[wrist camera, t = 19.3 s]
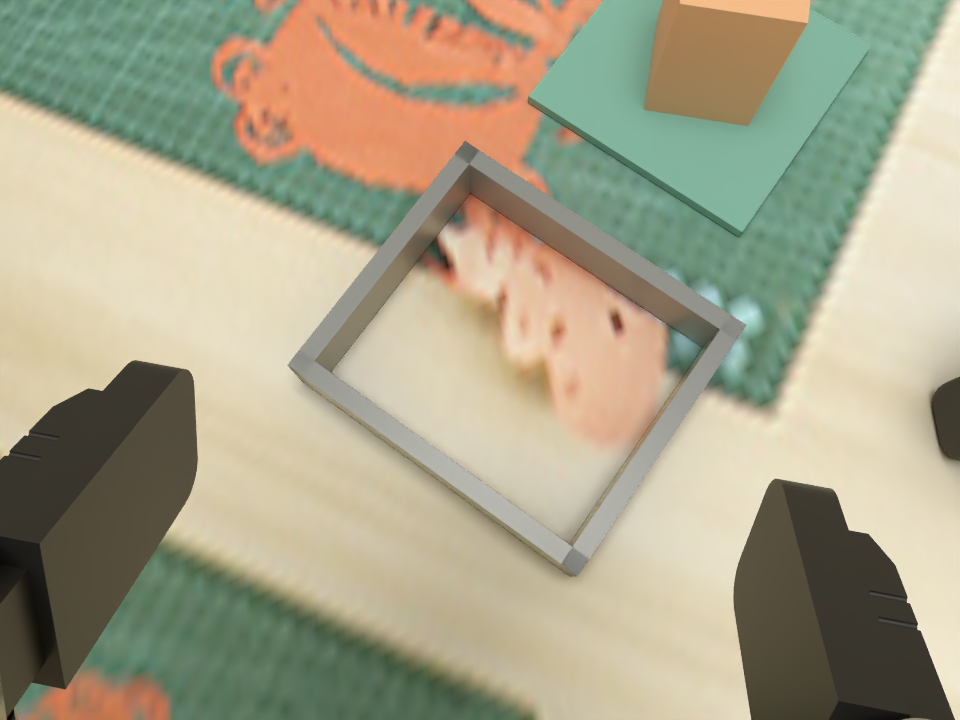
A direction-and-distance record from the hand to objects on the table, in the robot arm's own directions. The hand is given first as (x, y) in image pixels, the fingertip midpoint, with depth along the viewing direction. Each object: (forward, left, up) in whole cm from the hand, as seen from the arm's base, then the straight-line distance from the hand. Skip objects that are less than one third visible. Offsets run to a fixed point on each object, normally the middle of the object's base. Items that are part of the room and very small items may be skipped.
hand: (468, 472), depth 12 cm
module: (-4, +24, -26) cm, 36 cm away
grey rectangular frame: (-3, +8, -26) cm, 28 cm away
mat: (-4, +25, -26) cm, 36 cm away
